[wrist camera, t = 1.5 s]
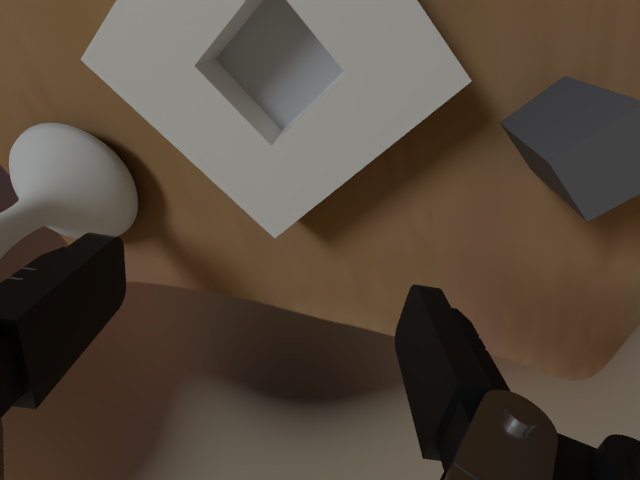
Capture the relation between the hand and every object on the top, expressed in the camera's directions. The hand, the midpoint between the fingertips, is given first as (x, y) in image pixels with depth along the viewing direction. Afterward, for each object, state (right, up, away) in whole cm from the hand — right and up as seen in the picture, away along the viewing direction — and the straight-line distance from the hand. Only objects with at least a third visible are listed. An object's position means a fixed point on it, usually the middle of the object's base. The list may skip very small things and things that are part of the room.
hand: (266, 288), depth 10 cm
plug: (+19, +10, +18) cm, 28 cm away
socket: (-1, +15, +17) cm, 23 cm away
